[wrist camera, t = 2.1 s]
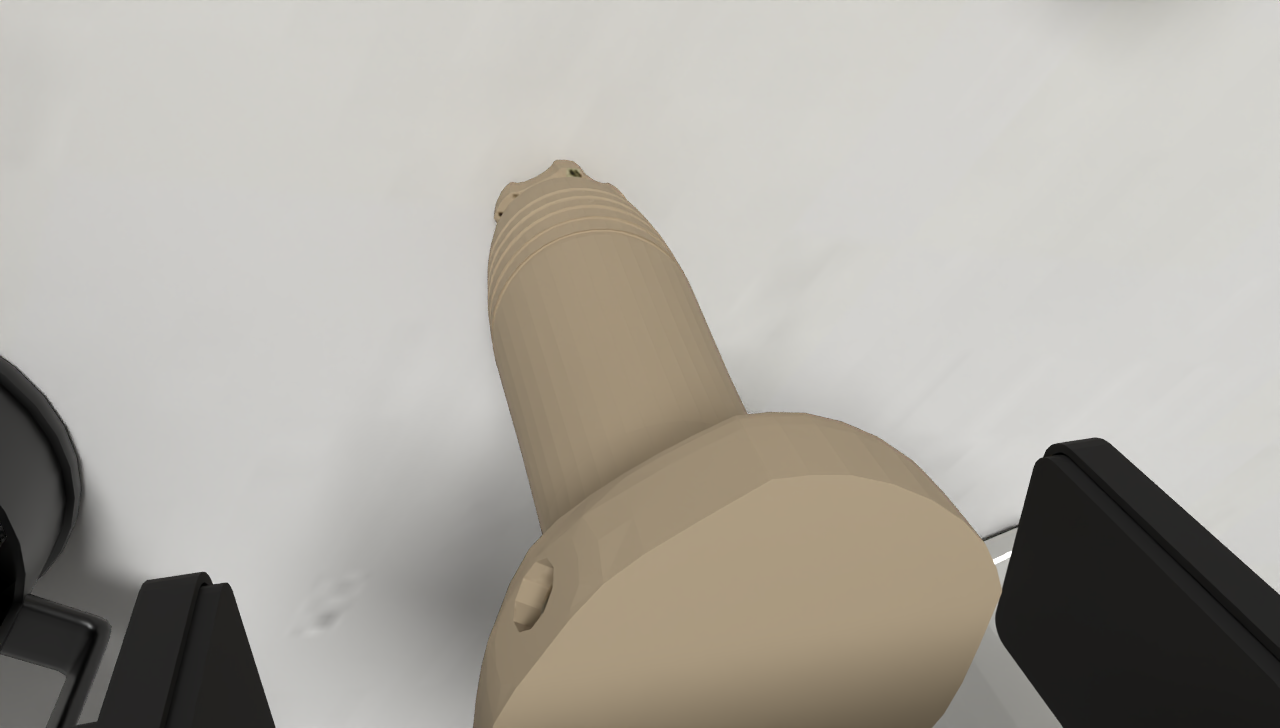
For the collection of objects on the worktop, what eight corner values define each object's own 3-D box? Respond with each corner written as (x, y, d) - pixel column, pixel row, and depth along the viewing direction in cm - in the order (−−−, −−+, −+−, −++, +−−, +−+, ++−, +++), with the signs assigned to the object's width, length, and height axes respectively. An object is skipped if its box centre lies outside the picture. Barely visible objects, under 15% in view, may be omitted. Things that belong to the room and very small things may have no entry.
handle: (710, 160, 23) (1082, 579, 10) (569, 364, 25) (729, 930, 12) (542, 50, 21) (741, 399, 8) (402, 281, 23) (382, 860, 10)
